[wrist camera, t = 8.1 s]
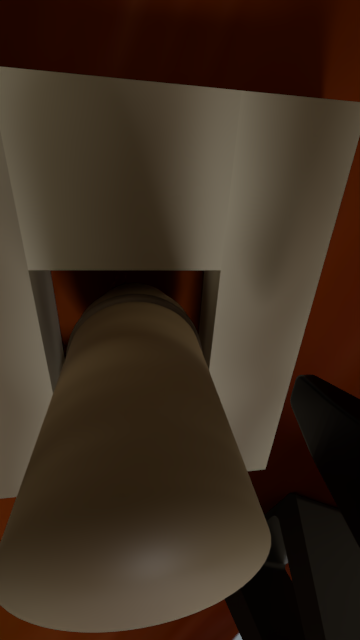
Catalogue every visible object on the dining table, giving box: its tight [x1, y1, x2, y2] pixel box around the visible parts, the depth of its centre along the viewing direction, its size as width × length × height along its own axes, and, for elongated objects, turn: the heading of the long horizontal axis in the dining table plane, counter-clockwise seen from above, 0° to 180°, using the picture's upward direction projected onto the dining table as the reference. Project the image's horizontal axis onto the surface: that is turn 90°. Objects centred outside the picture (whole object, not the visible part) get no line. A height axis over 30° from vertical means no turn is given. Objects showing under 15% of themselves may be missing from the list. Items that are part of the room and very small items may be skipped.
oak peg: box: [0, 283, 271, 632], centre depth 8 cm, size 4×4×8 cm
